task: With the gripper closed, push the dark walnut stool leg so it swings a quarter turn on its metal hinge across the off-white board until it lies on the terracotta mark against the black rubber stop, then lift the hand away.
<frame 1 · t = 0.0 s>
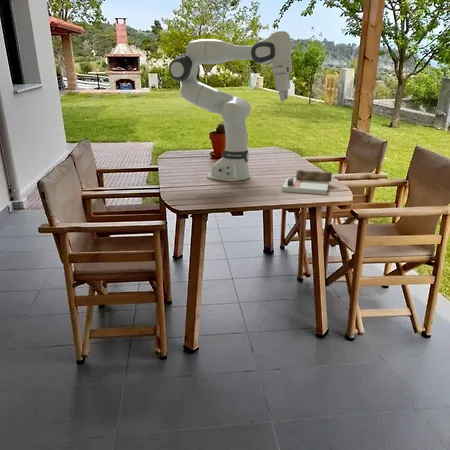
hand: (284, 100, 192), 39 cm above the table, tool pointing down, fingers open, 8 cm apart
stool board: (305, 187, 192), on the table
stool leg: (313, 175, 196), point 4 cm above the table, hinge at 0.0°
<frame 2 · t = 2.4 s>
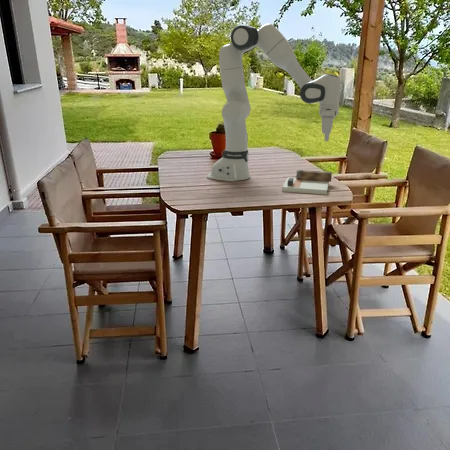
hand: (326, 140, 195), 20 cm above the table, tool pointing down, fingers closed
nothing on the table moved.
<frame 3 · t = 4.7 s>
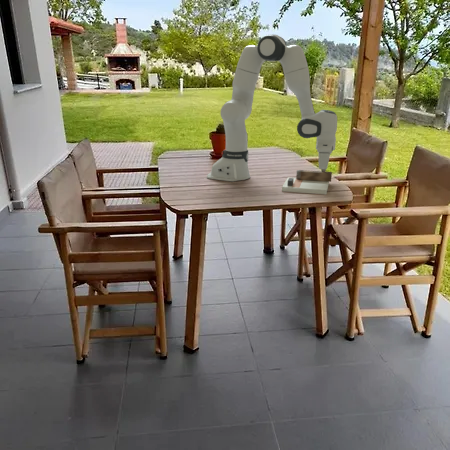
hand: (323, 174, 197), 5 cm above the table, tool pointing down, fingers closed
stool leg: (313, 175, 196), point 4 cm above the table, hinge at -0.1°, touching gripper
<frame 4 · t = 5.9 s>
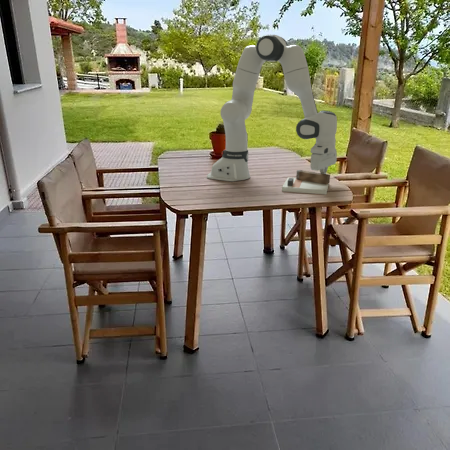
hand: (323, 176, 193), 5 cm above the table, tool pointing down, fingers closed
stool leg: (312, 176, 194), point 4 cm above the table, hinge at -22.1°, touching gripper
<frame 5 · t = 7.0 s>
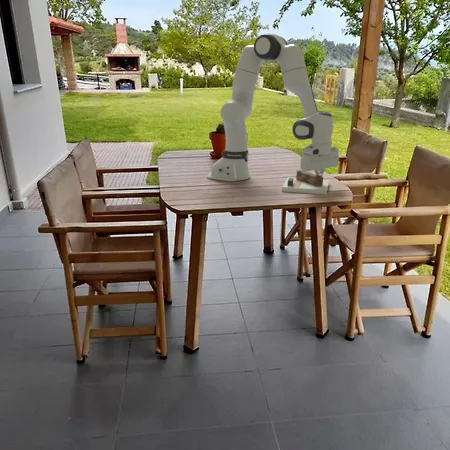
hand: (319, 178, 190), 5 cm above the table, tool pointing down, fingers closed
stool leg: (308, 177, 193), point 4 cm above the table, hinge at -44.9°, touching gripper
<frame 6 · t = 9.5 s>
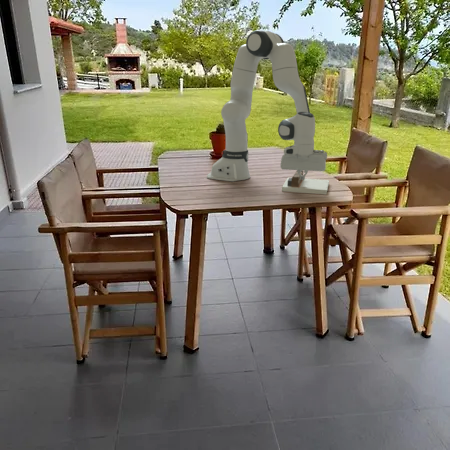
hand: (302, 179, 187), 5 cm above the table, tool pointing down, fingers closed
stool leg: (297, 178, 192), point 4 cm above the table, hinge at -91.7°, touching gripper, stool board
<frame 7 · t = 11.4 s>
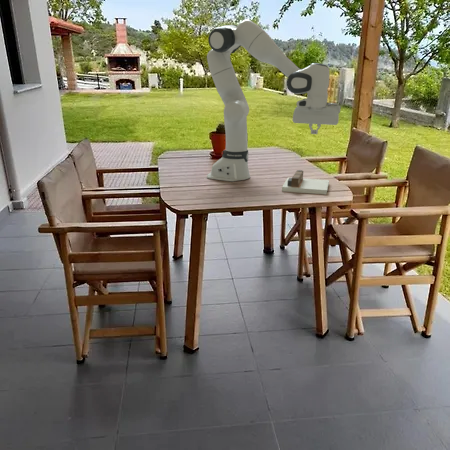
hand: (314, 133, 185), 25 cm above the table, tool pointing down, fingers closed
stool leg: (297, 178, 192), point 4 cm above the table, hinge at -91.7°, touching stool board
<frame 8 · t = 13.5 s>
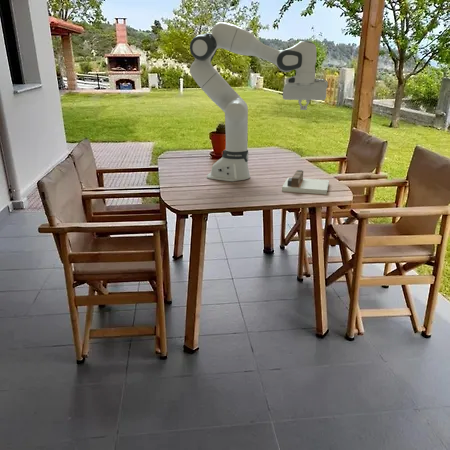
hand: (303, 109, 195), 34 cm above the table, tool pointing down, fingers closed
nothing on the table moved.
at the end: stool leg at -92° (first picture: +0°) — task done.
